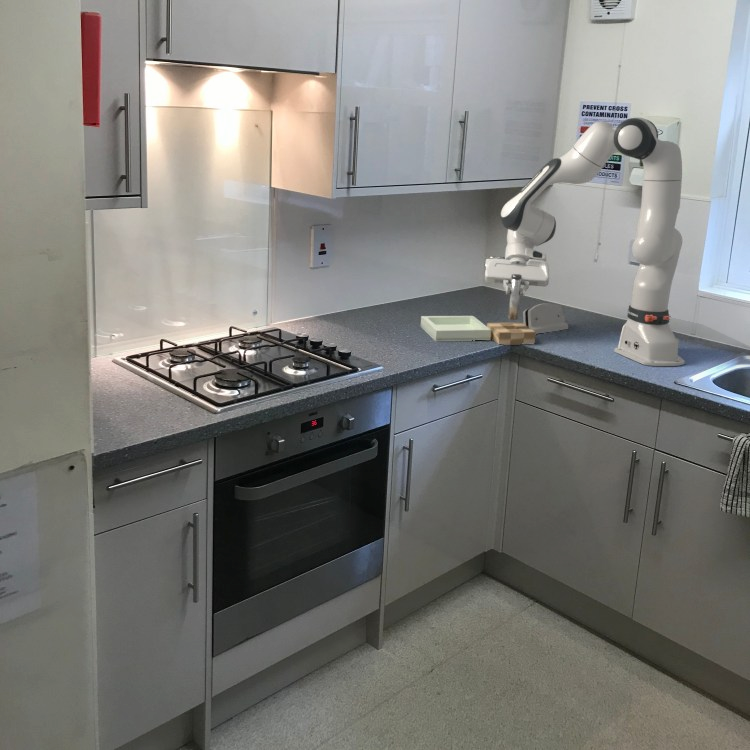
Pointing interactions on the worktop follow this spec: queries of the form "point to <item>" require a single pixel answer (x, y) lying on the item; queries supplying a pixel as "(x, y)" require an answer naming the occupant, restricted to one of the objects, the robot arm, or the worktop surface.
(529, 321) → the grey slotted holder
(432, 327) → the sage tray
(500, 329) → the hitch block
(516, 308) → the steel pin
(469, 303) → the worktop surface
